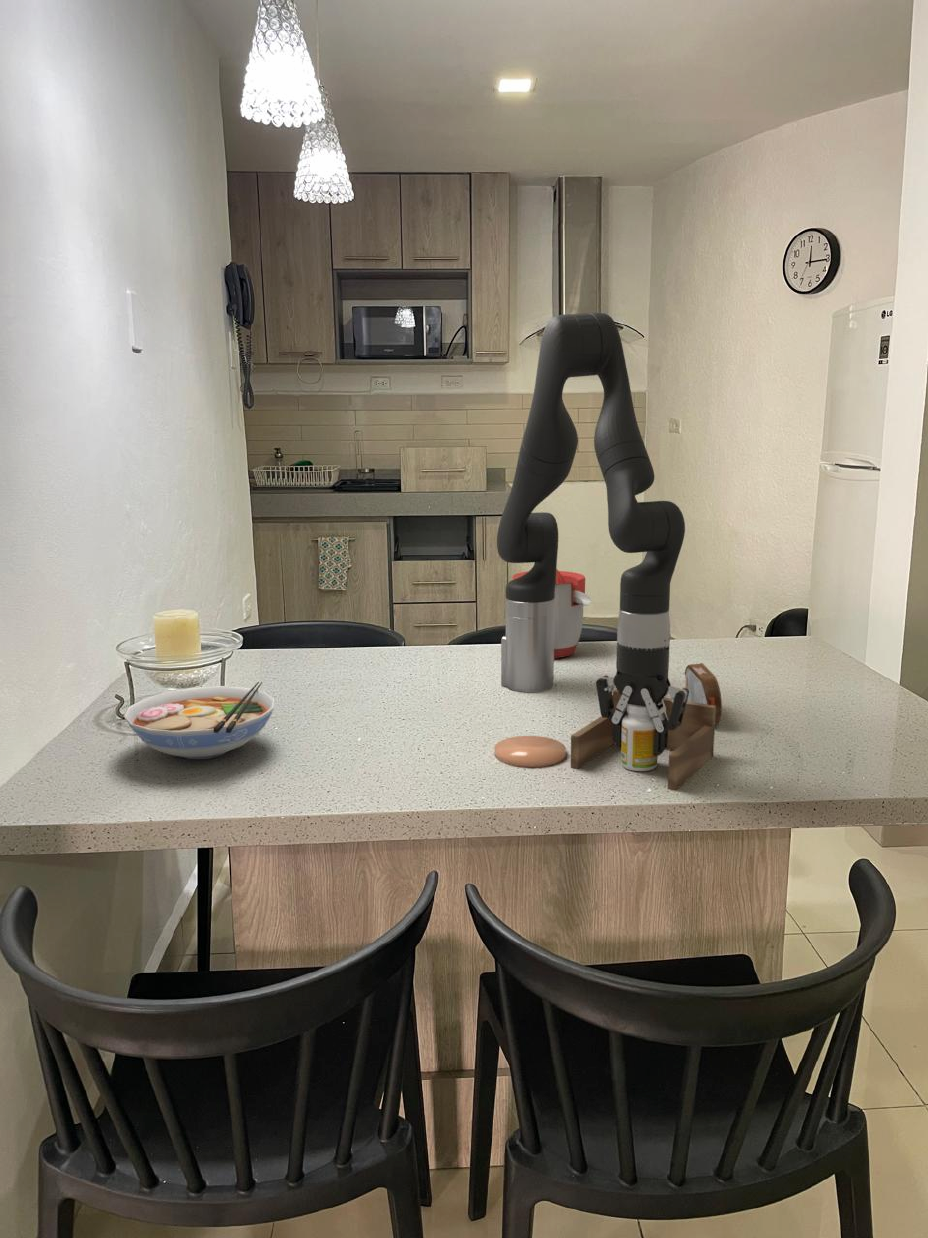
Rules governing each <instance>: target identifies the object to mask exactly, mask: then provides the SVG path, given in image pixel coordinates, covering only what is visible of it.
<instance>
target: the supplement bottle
mask: <svg viewBox="0 0 928 1238" xmlns="http://www.w3.org/2000/svg"><path fill="white" fill-rule="evenodd" d="M627 713H628V715H626V716H625V717H624V718H623V719H622V736H621V748H620V764H621V766H622V767H623V768H624V769H627V770H630V771H633V772H634V771H635V772H649V771H653V770H654V769H656V768H657V766H658V757H659V756H658V755H654V732H655V731H656V727H655V724H654V722H653V719H652V718H651V717H650V715H649V712H648V709H647V707H644V706H638V705H632V704H627Z"/></svg>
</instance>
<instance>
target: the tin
mask: <svg viewBox="0 0 928 1238" xmlns="http://www.w3.org/2000/svg"><path fill="white" fill-rule="evenodd" d="M684 675H685V688H687V689H688V690H689V696H688V699H687V701H689V702H695V703H701V704H707V705H713V706H716V714H715V724H719V723H720V722H721V719H722V712H723V711H722V710H723V705H722V704H723V703H722V702H723V700H722V695H721V693H722V692H721V689H720V685H719V682H718V679H717V677H716V675H715V674H714V673H713V672H712V671H711V670H710V669H709V668H708V667H707V666H706V665H705V664H704V663H703V662H699V663H694V664H688V665H686V667H685V670H684Z"/></svg>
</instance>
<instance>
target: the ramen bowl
mask: <svg viewBox="0 0 928 1238" xmlns="http://www.w3.org/2000/svg"><path fill="white" fill-rule="evenodd" d="M262 684H263V682H262V681H261V682H259V681H258V682H257V683H256V684H255V685H254V686H253V687H252V688H250V687H242V686H229V685H228V686H225V685H216V686H215V685H213V686H201V687H200V686H198V687H197V686H195V687H189V688H182V689H177V690H170V691H165V692H162V693H159V694H155V695H151V696H148V697H145V698H143V699H141V700H139V701H136V702H135V703H134V704H132V705H129V706H128V707H127V709H126V711H125V713H124V714H123V718H124V719H125V720H126V721H125V722H126V723H127V724H128V725H129V727H131V729H132V730H133V731H134V733H135V734H136V735H137V737H139V738H140V739H141V741H142V742H144V743H145V744H146V745H147V746H148V747H149V748H152V749H154V750H155V751H158V752H161V753H164V754H167V755H170V756H174V757H182V758H185V759H188V760H207V759H213V758H216V757H220V756H223V755H225V754H226V753H227V752H230V751H232V750H235V749H237V748H240V747H242V746H244V745H245V744H246V743H248V742H250V741H251V740H252V739H253V738H255V737H256V736H257V735H259V734H260V732H262V730H263V728H265V726H266V724H267V723H268V721H269V720H270V718H271V715H272V713H273V712H274V709H275V698H274V697H273V696H271V695H270V694H268V693H267V692H266V691H263V690H259V688H260V687H261V685H262ZM257 685H258V686H257Z"/></svg>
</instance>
